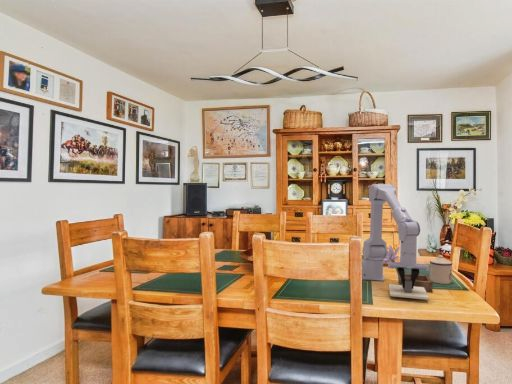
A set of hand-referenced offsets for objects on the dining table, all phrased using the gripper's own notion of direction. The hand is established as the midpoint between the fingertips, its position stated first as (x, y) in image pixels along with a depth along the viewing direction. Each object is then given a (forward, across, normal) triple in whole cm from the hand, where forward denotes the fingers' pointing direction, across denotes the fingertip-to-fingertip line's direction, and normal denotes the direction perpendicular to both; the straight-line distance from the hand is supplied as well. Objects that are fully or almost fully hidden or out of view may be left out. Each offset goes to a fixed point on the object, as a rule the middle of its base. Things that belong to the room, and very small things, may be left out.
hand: (407, 287), depth 138 cm
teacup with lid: (+4, +16, +30) cm, 34 cm away
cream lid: (+2, 0, 0) cm, 2 cm away
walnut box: (+3, +4, +15) cm, 16 cm away
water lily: (+4, -5, +55) cm, 55 cm away
